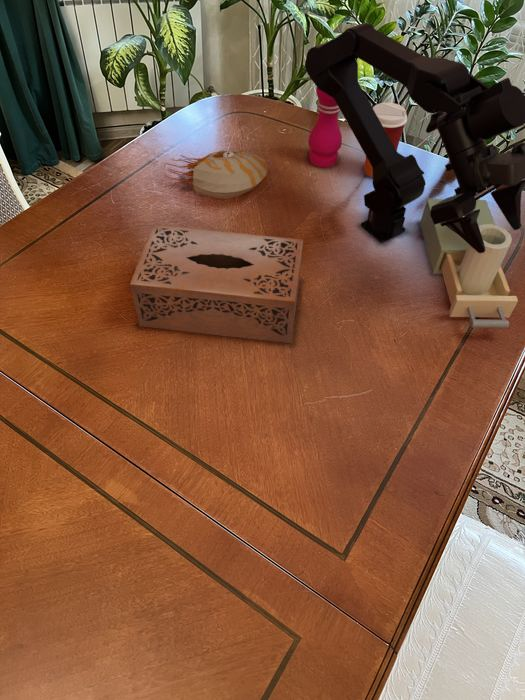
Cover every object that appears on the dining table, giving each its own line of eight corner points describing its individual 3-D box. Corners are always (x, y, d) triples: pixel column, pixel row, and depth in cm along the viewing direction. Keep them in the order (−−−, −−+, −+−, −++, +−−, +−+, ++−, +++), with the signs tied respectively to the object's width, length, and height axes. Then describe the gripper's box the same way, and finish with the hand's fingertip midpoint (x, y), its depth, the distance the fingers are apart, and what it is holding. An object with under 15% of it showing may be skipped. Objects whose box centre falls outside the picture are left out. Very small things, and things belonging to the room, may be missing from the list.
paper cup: (397, 165, 127) (411, 105, 115) (390, 185, 122) (405, 124, 111) (363, 158, 128) (373, 97, 117) (355, 177, 123) (365, 116, 112)
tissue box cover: (299, 281, 104) (303, 239, 96) (291, 343, 95) (295, 302, 87) (160, 267, 105) (152, 224, 98) (139, 326, 97) (129, 284, 89)
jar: (458, 295, 100) (478, 248, 91) (452, 271, 103) (470, 223, 95) (492, 296, 100) (515, 249, 91) (485, 272, 103) (506, 224, 95)
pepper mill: (337, 170, 125) (349, 80, 109) (304, 166, 126) (312, 76, 110) (341, 152, 129) (353, 62, 113) (309, 148, 130) (317, 58, 114)
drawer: (515, 336, 96) (525, 320, 92) (455, 335, 95) (462, 319, 92) (489, 263, 106) (497, 246, 103) (435, 262, 106) (441, 245, 103)
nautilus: (155, 199, 118) (183, 162, 128) (254, 215, 114) (275, 175, 123) (148, 164, 112) (178, 128, 122) (252, 180, 108) (275, 141, 117)
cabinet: (494, 274, 106) (505, 250, 101) (433, 273, 106) (441, 249, 101) (476, 223, 115) (485, 199, 110) (419, 223, 115) (427, 198, 110)
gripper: (468, 153, 78) (506, 257, 81) (547, 110, 85) (579, 207, 89) (411, 175, 88) (448, 267, 91) (487, 135, 95) (518, 221, 99)
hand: (500, 240), depth 92 cm, fingers open, 9 cm apart
